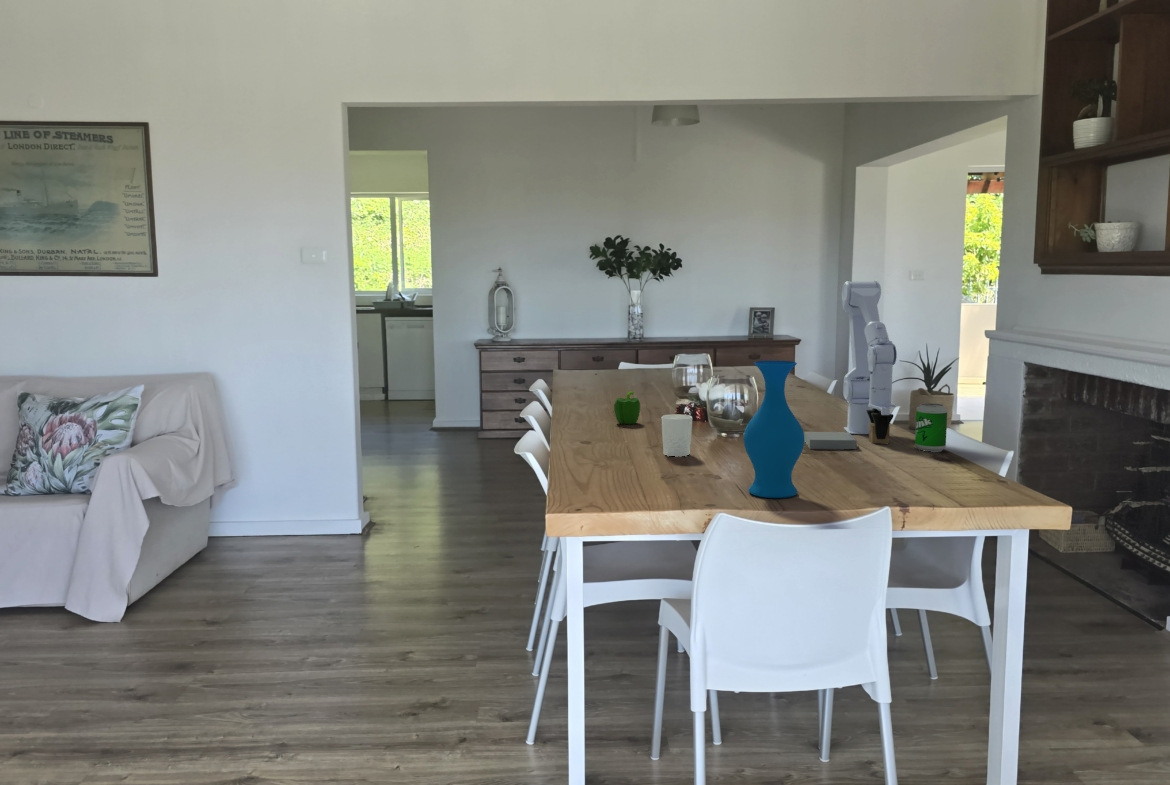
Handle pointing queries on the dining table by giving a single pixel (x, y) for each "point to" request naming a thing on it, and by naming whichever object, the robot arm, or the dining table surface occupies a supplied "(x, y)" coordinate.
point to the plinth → (830, 440)
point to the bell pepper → (627, 409)
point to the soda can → (931, 427)
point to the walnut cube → (873, 435)
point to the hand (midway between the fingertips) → (878, 437)
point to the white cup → (676, 434)
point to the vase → (774, 436)
